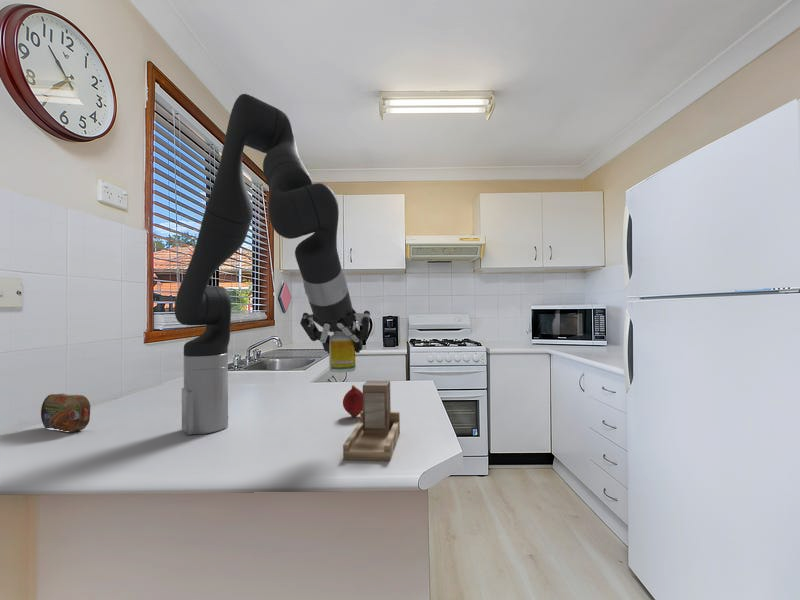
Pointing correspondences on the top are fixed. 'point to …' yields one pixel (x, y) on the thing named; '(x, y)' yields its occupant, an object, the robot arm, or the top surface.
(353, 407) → the onion
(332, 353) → the supplement bottle
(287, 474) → the top surface
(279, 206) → the robot arm
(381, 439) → the wooden box stand
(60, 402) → the tin
